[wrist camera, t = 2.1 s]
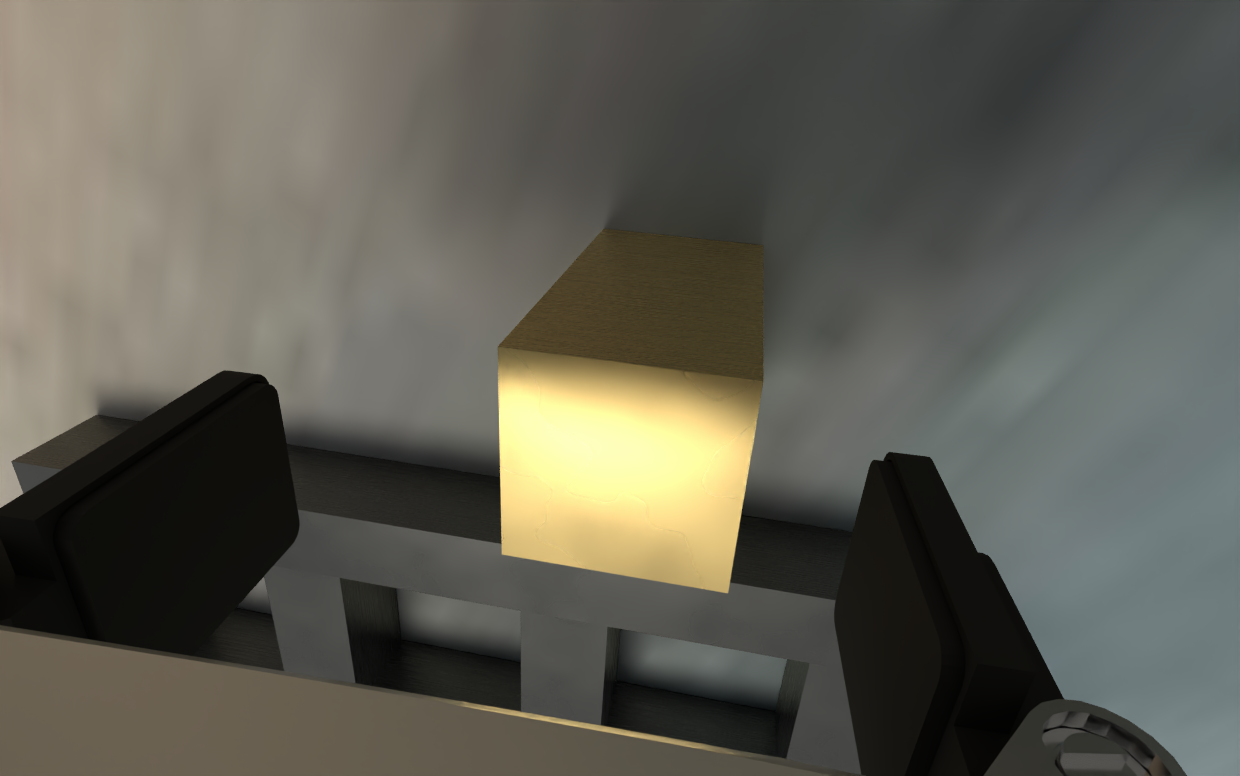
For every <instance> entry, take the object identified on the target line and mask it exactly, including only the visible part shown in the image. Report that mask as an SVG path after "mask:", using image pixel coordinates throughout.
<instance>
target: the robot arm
mask: <svg viewBox="0 0 1240 776" xmlns="http://www.w3.org/2000/svg"><path fill="white" fill-rule="evenodd" d="M299 526H300V521H299V514H298V508H297V503H296V497H295V491H294V485H293V479H292V473H291V468H290V462H289V456H288V450H287V444H286V438H285V432H284V427H283V421H282V415H281V409H280V403H279V397H278V393H277V390H276V389H275V387H274V386H272V385H269V382H268V381H267V379H266V378H265V377H264V376H262V375H259V374H251V373H243V372H235V371H222V372H220V373H218V374H216V375H215V376H213V377H211V378H210V379H208V380H206V381H205V382H203V383H202V384H200V385H198V386H197V387H195V388H194V389H192V390H190V391H189V392H187V393H185V394H184V395H182V396H181V397H179V398H177V399H176V400H174V401H173V402H171V403H169V404H168V405H166V406H164V407H163V408H161V409H160V410H158V411H156V412H155V413H153V414H152V415H150V416H148V417H147V418H145V419H143V420H142V421H140V422H139V423H137V424H135V425H134V426H132V427H131V428H129V429H127V430H126V431H124V432H122V433H121V434H119V435H118V436H116V437H114V438H113V439H111V440H110V441H108V442H106V443H105V444H103V445H101V446H100V447H98V448H97V449H95V450H93V451H92V452H90V453H89V454H87V455H85V456H84V457H82V458H80V459H79V460H77V461H76V462H74V463H72V464H71V465H69V466H67V467H66V468H64V469H63V470H61V471H59V472H58V473H56V474H55V475H53V476H51V477H50V478H48V479H46V480H45V481H43V482H42V483H40V484H38V485H37V486H35V487H34V488H32V489H30V490H29V491H27V492H25V493H24V494H22V495H21V496H19V497H17V498H16V499H14V500H13V501H11V502H9V503H8V504H6V505H4V506H3V507H1V508H0V776H1187V775H1186V774H1185V772H1184V771H1183V769H1182V768H1181V767H1180V765H1179V764H1178V762H1177V761H1176V760H1175V758H1174V757H1173V756H1172V755H1171V754H1170V753H1169V752H1168V751H1167V750H1166V749H1165V748H1164V747H1163V746H1162V745H1160V744H1159V743H1158V742H1157V741H1156V740H1155V739H1154V738H1153V737H1152V736H1150V735H1149V734H1147V733H1146V732H1145V731H1143V730H1142V729H1140V728H1139V727H1137V726H1136V725H1135V724H1133V723H1132V722H1130V721H1129V720H1127V719H1125V718H1123V717H1121V716H1119V715H1117V714H1115V713H1113V712H1111V711H1109V710H1107V709H1105V708H1102V707H1098V706H1095V705H1092V704H1089V703H1085V702H1082V701H1076V700H1065V699H1064V698H1063V696H1062V694H1061V692H1060V691H1059V689H1058V687H1057V685H1056V683H1055V681H1054V679H1053V677H1052V675H1051V673H1050V671H1049V669H1048V667H1047V665H1046V663H1045V661H1044V659H1043V657H1042V655H1041V654H1040V652H1039V650H1038V648H1037V646H1036V644H1035V642H1034V640H1033V638H1032V636H1031V634H1030V632H1029V630H1028V628H1027V626H1026V624H1025V622H1024V620H1023V618H1022V617H1021V615H1020V613H1019V611H1018V609H1017V607H1016V605H1015V603H1014V601H1013V599H1012V597H1011V595H1010V593H1009V591H1008V589H1007V587H1006V585H1005V583H1004V581H1003V580H1002V578H1001V576H1000V574H999V572H998V570H997V568H996V566H995V564H994V563H993V561H992V560H991V558H990V557H989V556H988V555H986V554H984V553H978V552H977V550H976V548H975V546H974V544H973V542H972V540H971V538H970V536H969V534H968V532H967V530H966V528H965V526H964V524H963V522H962V520H961V518H960V516H959V514H958V512H957V509H956V507H955V505H954V503H953V501H952V499H951V497H950V495H949V493H948V491H947V489H946V487H945V485H944V483H943V481H942V479H941V477H940V475H939V473H938V471H937V469H936V467H935V465H934V463H933V461H932V459H931V458H930V457H926V456H918V455H910V454H901V453H893V452H889V453H888V454H887V455H886V456H885V458H884V461H879V460H873V461H872V462H871V464H870V467H869V470H868V474H867V478H866V482H865V486H864V490H863V494H862V498H861V502H860V506H859V510H858V514H857V518H856V521H855V525H854V529H853V533H852V537H851V541H850V545H849V549H848V553H847V557H846V561H845V565H844V569H843V573H842V576H841V580H840V584H839V588H838V592H837V596H836V601H835V608H834V623H835V630H836V635H837V641H838V646H839V652H840V658H841V663H842V669H843V674H844V680H845V686H846V691H847V697H848V702H849V708H850V714H851V719H852V725H853V731H854V736H855V742H856V747H857V753H858V759H859V764H860V770H861V775H859V774H855V773H850V772H845V771H841V770H836V769H831V768H826V767H822V766H817V765H812V764H808V763H803V762H798V761H794V760H789V759H784V758H780V757H774V756H768V755H762V754H756V753H750V752H745V751H739V750H733V749H728V748H723V747H717V746H712V745H707V744H702V743H696V742H691V741H686V740H680V739H674V738H668V737H663V736H657V735H651V734H646V733H640V732H634V731H629V730H623V729H617V728H611V727H606V726H600V725H594V724H589V723H583V722H577V721H572V720H566V719H560V718H554V717H549V716H543V715H537V714H532V713H526V712H520V711H515V710H509V709H503V708H497V707H492V706H486V705H480V704H474V703H468V702H462V701H457V700H451V699H445V698H439V697H433V696H427V695H421V694H416V693H410V692H404V691H398V690H392V689H386V688H380V687H374V686H369V685H363V684H357V683H351V682H345V681H339V680H333V679H327V678H321V677H315V676H309V675H303V674H297V673H291V672H285V671H279V670H273V669H267V668H262V667H255V666H249V665H243V664H237V663H231V662H225V661H219V660H213V659H206V658H200V657H194V656H193V655H194V654H195V652H196V651H197V650H198V649H199V648H200V647H201V646H202V645H203V644H204V642H205V641H206V640H207V639H208V638H209V637H210V636H211V635H212V634H213V632H214V631H215V630H216V629H217V628H218V627H219V626H220V625H221V623H222V622H223V621H224V620H225V619H226V618H227V617H228V616H229V615H230V613H231V612H232V611H233V610H234V609H235V608H236V607H237V606H238V605H239V603H240V602H241V601H242V600H243V599H244V598H245V597H246V596H247V595H248V593H249V592H250V591H251V590H252V589H253V588H254V587H255V586H256V585H257V583H258V582H259V581H260V580H261V579H262V578H263V577H264V576H265V575H266V573H267V572H268V571H269V570H270V569H271V568H272V567H273V566H274V565H275V563H276V562H277V561H278V560H279V559H280V558H281V557H282V556H283V555H284V553H285V552H286V551H287V550H288V549H289V548H290V547H291V546H292V544H293V543H294V542H295V540H296V538H297V535H298V532H299Z"/></svg>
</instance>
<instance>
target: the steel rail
mask: <svg viewBox="0 0 1240 776" xmlns="http://www.w3.org/2000/svg"><path fill="white" fill-rule="evenodd" d="M137 423H139V422H138V421H131V420H125V419H118V418H112V417H106V416H99V415H95V416H93V417H92V418H90V419H88V420H86V421H84V422H82V423H81V424H79V425H77V426H75V427H73V428H71V429H70V430H68V431H66V432H64V433H62V434H60V435H59V436H57V437H55V438H53V439H51V440H49V441H48V442H46V443H44V444H42V445H40V446H38V447H37V448H35V449H33V450H31V451H29V452H27V453H26V454H24V455H22V456H20V457H18V458H16V459H15V460H13V461H11V462H12V464H13V467H14V470H15V472H16V475H17V477H18V480H19V483H20V485H21V488H22V491H23V493H25V492H27V491H29V490H30V489H32V488H34V487H35V486H37V485H38V484H40V483H42V482H43V481H45V480H46V479H48V478H50V477H51V476H53V475H55V474H56V473H58V472H59V471H61V470H63V469H64V468H66V467H67V466H69V465H71V464H72V463H74V462H76V461H77V460H79V459H80V458H82V457H84V456H85V455H87V454H89V453H90V452H92V451H93V450H95V449H97V448H98V447H100V446H101V445H103V444H105V443H106V442H108V441H110V440H111V439H113V438H114V437H116V436H118V435H119V434H121V433H122V432H124V431H126V430H127V429H129V428H131V427H132V426H134V425H135V424H137ZM287 450H288V456H289V462H290V468H291V473H292V479H293V485H294V491H295V497H296V503H297V508H298V514H299V521H300V526H299V532H298V535H297V538H296V540H295V542H294V543H293V544H292V546H291V547H290V548H289V549H288V550H287V551H286V552H285V553H284V555H283V556H282V557H281V558H280V559H279V560H278V561H277V562H276V563H275V565H274V566H273V567H272V568H271V569H270V570H269V571H268V572H267V573H266V575H265V576H264V578H265V583H266V588H267V592H268V597H269V602H270V606H271V611H272V615H268V614H263V613H257V612H252V611H247V610H242V609H237V608H235V609H234V610H233V611H232V612H231V613H230V615H229V616H228V617H227V618H226V619H225V620H224V621H223V622H222V623H221V625H220V626H219V627H218V628H217V629H216V630H215V631H214V632H213V634H212V635H211V636H210V637H209V638H208V639H207V640H206V641H205V642H204V644H203V645H202V646H201V647H200V648H199V649H198V650H197V651H196V652H195V654H194V655H193V656H194V657H200V658H206V659H213V660H219V661H225V662H231V663H237V664H243V665H249V666H255V667H262V668H267V669H273V670H279V671H285V672H291V673H297V674H303V675H309V676H315V677H321V678H327V679H333V680H339V681H345V682H351V683H357V684H363V685H369V686H374V687H380V688H386V689H392V690H398V691H404V692H410V693H416V694H421V695H427V696H433V697H439V698H445V699H451V700H457V701H462V702H468V703H474V704H480V705H486V706H492V707H497V708H503V709H509V710H515V711H520V712H526V713H532V714H537V715H543V716H549V717H554V718H560V719H566V720H572V721H577V722H583V723H589V724H594V725H600V726H606V727H611V728H617V729H623V730H629V731H634V732H640V733H646V734H651V735H657V736H663V737H668V738H674V739H680V740H686V741H691V742H696V743H702V744H707V745H712V746H717V747H723V748H728V749H733V750H739V751H745V752H750V753H756V754H762V755H768V756H774V757H780V758H784V759H789V760H794V761H798V762H803V763H808V764H812V765H817V766H822V767H826V768H831V769H836V770H841V771H845V772H850V773H855V774H859V775H861V770H860V764H859V759H858V753H857V747H856V742H855V736H854V731H853V725H852V719H851V714H850V708H849V702H848V697H847V691H846V686H845V680H844V674H843V669H842V663H841V658H840V652H839V646H838V641H837V635H836V630H835V623H834V608H835V601H836V596H837V592H838V588H839V584H840V580H841V576H842V573H843V569H844V565H845V561H846V557H847V553H848V549H849V545H850V541H851V537H852V532H845V531H839V530H832V529H826V528H820V527H813V526H807V525H800V524H794V523H787V522H781V521H775V520H768V519H762V518H755V517H749V516H742V515H741V518H740V524H739V530H738V536H737V542H736V548H735V554H734V560H733V566H732V572H731V578H730V584H729V590H728V593H723V592H717V591H711V590H706V589H700V588H694V587H688V586H682V585H676V584H671V583H665V582H659V581H653V580H647V579H642V578H636V577H630V576H624V575H618V574H613V573H607V572H601V571H595V570H589V569H583V568H578V567H572V566H566V565H560V564H554V563H549V562H543V561H537V560H531V559H525V558H520V557H514V556H508V555H502V540H501V487H500V478H498V477H492V476H485V475H479V474H472V473H466V472H459V471H453V470H446V469H440V468H434V467H427V466H421V465H414V464H408V463H401V462H395V461H389V460H382V459H376V458H369V457H363V456H356V455H350V454H344V453H337V452H331V451H324V450H318V449H311V448H305V447H299V446H292V445H287ZM396 588H398V589H404V590H409V591H415V592H420V593H426V594H431V595H437V596H442V597H448V598H453V599H459V600H464V601H470V602H475V603H481V604H486V605H492V606H497V607H503V608H509V609H514V610H520V611H521V663H518V662H513V661H508V660H502V659H497V658H492V657H487V656H482V655H476V654H471V653H466V652H461V651H456V650H450V649H445V648H440V647H435V646H429V645H424V644H419V643H414V642H409V641H403V640H401V635H400V625H399V616H398V606H397V597H396ZM620 629H624V630H630V631H635V632H641V633H646V634H652V635H657V636H663V637H668V638H674V639H679V640H685V641H690V642H696V643H701V644H707V645H712V646H718V647H724V648H729V649H735V650H740V651H746V652H751V653H757V654H762V655H768V656H773V657H779V658H784V659H787V663H786V668H785V672H784V676H783V681H782V685H781V690H780V694H779V698H778V703H777V707H776V712H774V711H768V710H763V709H758V708H753V707H747V706H742V705H737V704H732V703H727V702H721V701H716V700H711V699H706V698H701V697H695V696H690V695H685V694H680V693H674V692H669V691H664V690H659V689H654V688H648V687H643V686H638V685H633V684H628V683H622V682H617V681H616V678H617V665H618V653H619V640H620Z"/></svg>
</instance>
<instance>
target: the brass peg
mask: <svg viewBox="0 0 1240 776" xmlns="http://www.w3.org/2000/svg"><path fill="white" fill-rule="evenodd" d="M498 382H499V435H500V487H501V540H502V555H508V556H514V557H520V558H525V559H531V560H537V561H543V562H549V563H554V564H560V565H566V566H572V567H578V568H583V569H589V570H595V571H601V572H607V573H613V574H618V575H624V576H630V577H636V578H642V579H647V580H653V581H659V582H665V583H671V584H676V585H682V586H688V587H694V588H700V589H706V590H711V591H717V592H723V593H728V590H729V584H730V578H731V572H732V566H733V560H734V554H735V548H736V542H737V536H738V530H739V524H740V518H741V512H742V506H743V500H744V494H745V488H746V482H747V476H748V470H749V464H750V458H751V452H752V446H753V440H754V434H755V428H756V422H757V416H758V410H759V404H760V398H761V392H762V386H763V245H755V244H746V243H736V242H726V241H717V240H707V239H698V238H688V237H678V236H669V235H659V234H649V233H640V232H630V231H620V230H611V229H603V230H602V231H601V232H600V233H599V235H598V236H597V237H596V238H595V239H594V240H593V241H592V242H591V243H590V245H589V246H588V247H587V248H586V249H585V250H584V251H583V252H582V253H581V255H580V256H579V257H578V258H577V259H576V260H575V261H574V262H573V263H572V265H571V266H570V267H569V268H568V269H567V270H566V271H565V272H564V273H563V275H562V276H561V277H560V278H559V279H558V280H557V281H556V282H555V284H554V285H553V286H552V287H551V288H550V289H549V290H548V291H547V292H546V294H545V295H544V296H543V297H542V298H541V299H540V300H539V301H538V302H537V304H536V305H535V306H534V307H533V308H532V309H531V310H530V311H529V312H528V314H527V315H526V316H525V317H524V318H523V319H522V320H521V321H520V322H519V324H518V325H517V326H516V327H515V328H514V329H513V330H512V331H511V332H510V334H509V335H508V336H507V337H506V338H505V339H504V340H503V341H502V343H501V344H500V345H499V346H498Z"/></svg>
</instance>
